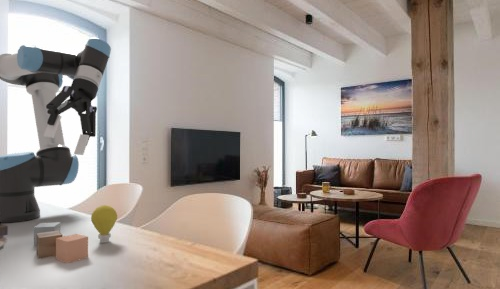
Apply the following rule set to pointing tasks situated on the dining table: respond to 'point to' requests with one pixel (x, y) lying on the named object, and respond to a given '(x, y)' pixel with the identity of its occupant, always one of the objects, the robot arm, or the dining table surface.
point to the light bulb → (104, 221)
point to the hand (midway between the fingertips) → (64, 146)
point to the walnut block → (47, 243)
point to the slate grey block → (45, 228)
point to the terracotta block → (71, 248)
